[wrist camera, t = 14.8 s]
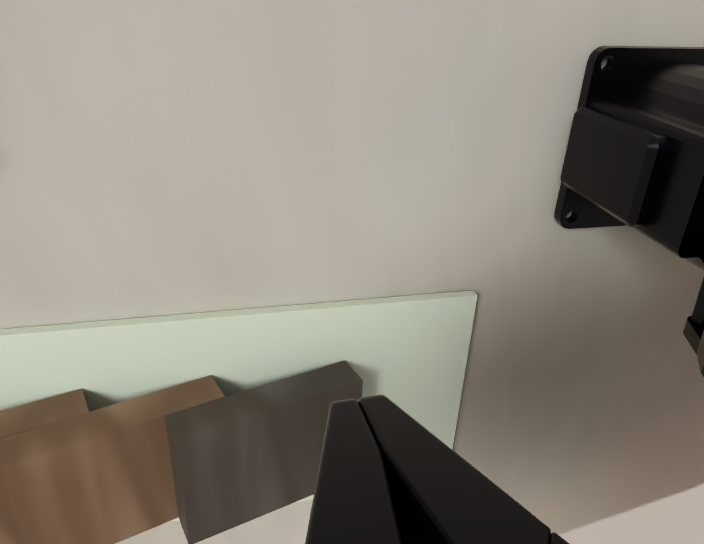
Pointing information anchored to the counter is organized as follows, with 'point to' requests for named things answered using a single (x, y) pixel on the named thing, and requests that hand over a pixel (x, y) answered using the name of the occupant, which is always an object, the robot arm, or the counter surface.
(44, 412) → the domino
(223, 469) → the tile
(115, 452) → the brown wooden block
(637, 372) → the counter surface
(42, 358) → the runner mat
